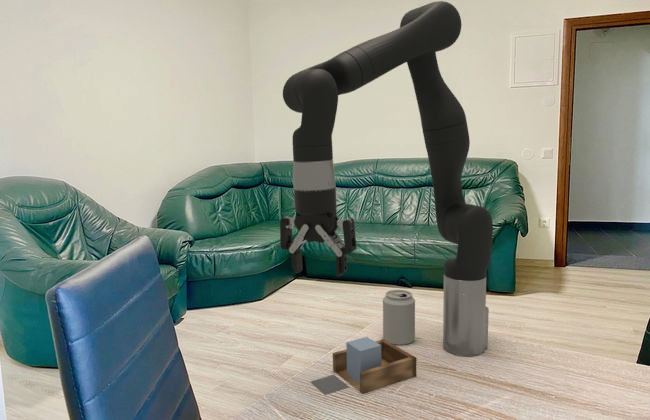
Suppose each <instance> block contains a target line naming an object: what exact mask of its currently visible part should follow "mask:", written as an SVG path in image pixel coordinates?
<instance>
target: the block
mask: <svg viewBox="0 0 650 420" xmlns="http://www.w3.org/2000/svg"><path fill="white" fill-rule="evenodd" d="M375 341H376V340H375ZM375 341H374V339H371V338H370V337H368V336H364V337H361V338H357V339H353V340H349V341H346V345H345V347H346V349H347V375H348V376H349V377H351V378H352V379H353V380H355V381H356V382H357V383H359V384H360V372H362V371H366V370H369V369H372V368H375V367H379V366H381V345H380V344H378V343H376V342H375Z"/></svg>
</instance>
